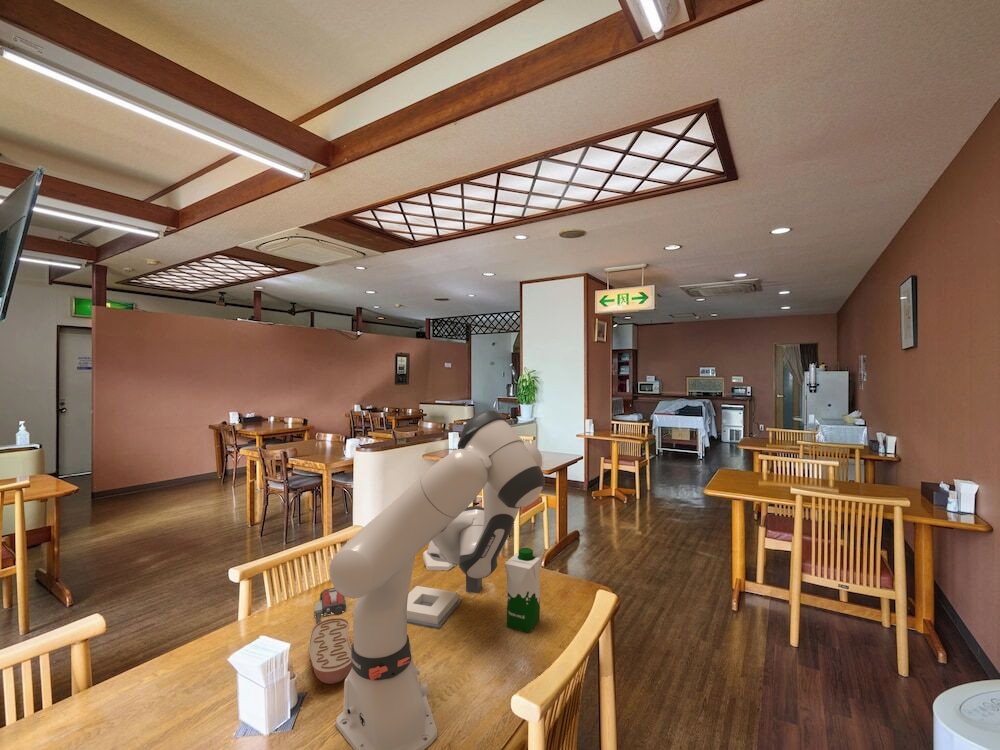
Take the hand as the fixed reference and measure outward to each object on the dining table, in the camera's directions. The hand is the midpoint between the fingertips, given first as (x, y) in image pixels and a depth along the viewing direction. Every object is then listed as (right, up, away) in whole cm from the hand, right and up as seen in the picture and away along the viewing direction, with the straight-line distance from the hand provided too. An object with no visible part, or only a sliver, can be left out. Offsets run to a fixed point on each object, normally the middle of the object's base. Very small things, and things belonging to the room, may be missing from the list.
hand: (469, 565), depth 144 cm
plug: (+1, -10, +6) cm, 12 cm away
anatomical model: (-32, -12, -30) cm, 46 cm away
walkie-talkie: (-41, -11, -7) cm, 43 cm away
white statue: (-12, -10, +26) cm, 30 cm away
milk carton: (+16, -11, -14) cm, 24 cm away
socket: (-12, -10, -7) cm, 18 cm away
